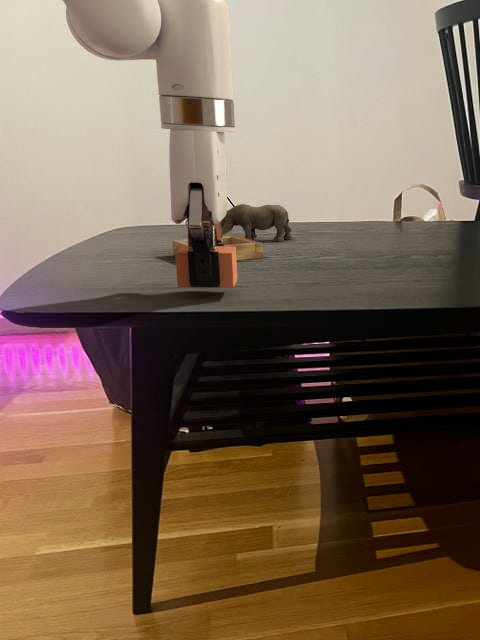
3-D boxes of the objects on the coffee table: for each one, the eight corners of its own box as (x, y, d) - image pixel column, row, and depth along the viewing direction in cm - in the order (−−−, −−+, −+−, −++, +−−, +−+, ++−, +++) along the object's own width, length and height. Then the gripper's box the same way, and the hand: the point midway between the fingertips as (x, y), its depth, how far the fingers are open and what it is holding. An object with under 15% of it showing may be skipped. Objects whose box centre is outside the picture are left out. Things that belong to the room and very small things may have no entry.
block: (177, 287, 79) (174, 252, 78) (184, 279, 83) (181, 245, 82) (233, 287, 80) (231, 253, 79) (237, 279, 84) (235, 246, 83)
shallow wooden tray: (199, 264, 98) (198, 249, 97) (173, 255, 104) (171, 240, 103) (263, 257, 105) (262, 242, 104) (235, 249, 111) (234, 235, 110)
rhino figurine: (208, 238, 119) (205, 202, 117) (291, 237, 123) (290, 203, 121) (206, 242, 115) (203, 205, 113) (292, 241, 119) (291, 205, 117)
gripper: (174, 115, 83) (185, 267, 89) (143, 113, 67) (159, 298, 73) (241, 119, 85) (248, 268, 90) (226, 118, 69) (235, 298, 75)
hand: (208, 280), depth 82 cm, fingers closed on block, 4 cm apart
